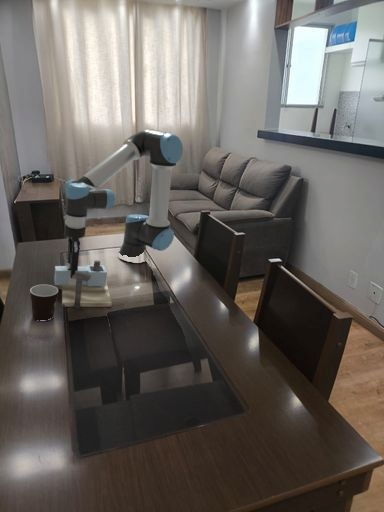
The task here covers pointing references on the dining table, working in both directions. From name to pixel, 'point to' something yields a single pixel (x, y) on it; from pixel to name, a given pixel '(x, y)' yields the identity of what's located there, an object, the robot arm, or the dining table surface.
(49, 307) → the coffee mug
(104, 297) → the pintle plate
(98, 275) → the link
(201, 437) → the dining table surface
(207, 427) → the dining table surface
